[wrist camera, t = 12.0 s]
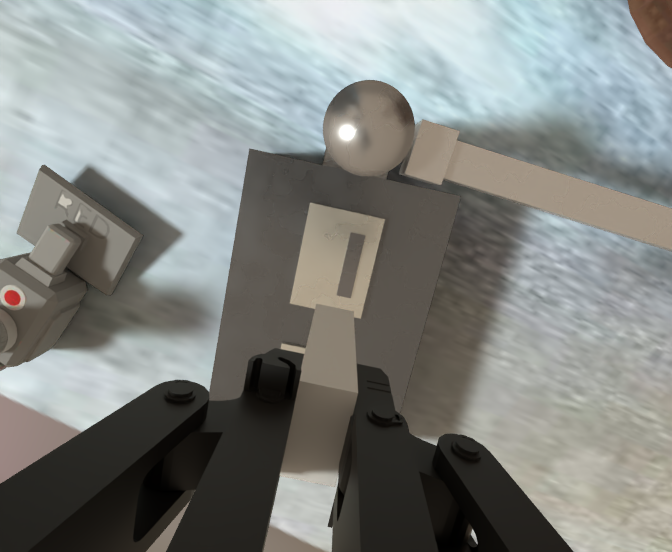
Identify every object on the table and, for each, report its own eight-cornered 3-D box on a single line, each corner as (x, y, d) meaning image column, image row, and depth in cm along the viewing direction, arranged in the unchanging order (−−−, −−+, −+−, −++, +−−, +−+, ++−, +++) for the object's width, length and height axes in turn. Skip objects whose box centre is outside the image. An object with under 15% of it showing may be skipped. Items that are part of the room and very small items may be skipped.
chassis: (266, 153, 33) (248, 148, 27) (441, 192, 34) (462, 196, 27) (222, 403, 38) (199, 447, 32) (375, 435, 39) (381, 484, 32)
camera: (-189, 366, 25) (-78, 157, 23) (-24, 308, 37) (63, 165, 34) (-56, 447, 26) (65, 256, 24) (64, 366, 38) (155, 232, 35)
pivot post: (335, 106, 32) (328, 62, 20) (399, 120, 33) (433, 86, 20) (321, 172, 34) (307, 170, 21) (383, 186, 34) (406, 192, 21)
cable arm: (397, 177, 25) (403, 177, 22) (415, 122, 24) (424, 115, 22) (758, 289, 26) (805, 303, 23) (785, 240, 25) (838, 247, 23)
